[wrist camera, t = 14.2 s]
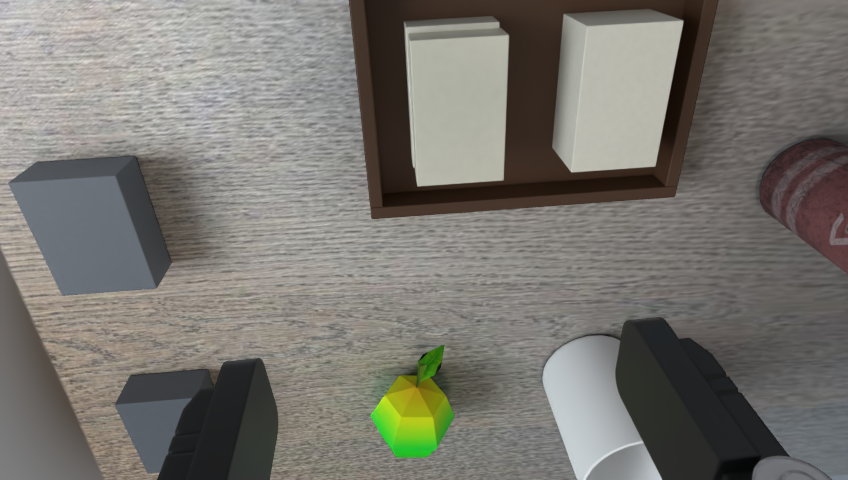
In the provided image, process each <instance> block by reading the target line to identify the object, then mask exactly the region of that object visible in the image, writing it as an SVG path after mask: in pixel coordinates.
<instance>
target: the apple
mask: <svg viewBox="0 0 848 480" xmlns="http://www.w3.org/2000/svg"><path fill="white" fill-rule="evenodd" d="M444 345H445V344H444ZM444 345H442V346H440V347H438V348H436V349H434V350H432V351H429V352H427V353H425V354H423V355H422V357H421V358H420V360H419V361H418V373H417V376H409V375H399V376H398V378H397V379H396V381H395V382H394V383H393V385H392V386H391V387H390V389H389V390H388V392H387V393H386V394H385V396H384V397H383V399H382V400H381V401H380V403H379V404H378V406H377V407H376V409H375V410H374V412H373V413H372V415H371V417H372V419H373V421H374V423H375V425H376V426H377V428H378V430H379V432H380V434H381V435H382V437H383V438H384V440H385V441H386V443H387V444H388V445H389V447H390V448H391V450H392V451H393V453H394V454H395V456H396V457H428V456H429V455H430V454H431V453H432V452H433V451H434V450H435V449H436V448H437V447H438V445H439V443H440V441H441V440H442V438H443V436H444V434H445V432H446V431H447V429H448V427H449V425H450V423H451V422H452V420H453V418H454V414H453V411H452V409H451V407H450V404H449V402H448V400H447V397H446V395H445V394H444V393H443V392H442V391H441V390H440V388H439V387H438V386H437V385H436V384H435V383H434V381H433V380H432V379H431V378H430V377H432V376H434V375H435V374H436V373H437V372H438V370H439V369H440V368H441V362H442V357H443V351H444Z"/></svg>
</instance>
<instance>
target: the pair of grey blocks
mask: <svg viewBox="0 0 848 480" xmlns="http://www.w3.org/2000/svg"><path fill="white" fill-rule="evenodd" d="M8 184H9V186H10V188H11V190H12V192H13V194H14V196H15V198H16V200H17V203H18V205H19V207H20V209H21V211H22V213H23V215H24V217H25V219H26V221H27V223H28V225H29V227H30V230H31V232H32V234H33V236H34V238H35V240H36V242H37V244H38V246H39V248H40V250H41V252H42V255H43V257H44V259H45V261H46V263H47V265H48V267H49V269H50V271H51V273H52V275H53V277H54V279H55V282H56V284H57V286H58V288H59V290H60V292H61V294H62V295H63V296H65V295H78V294H91V293H104V292H117V291H129V290H142V289H155V288H157V287H158V285H159V284H160V282H161V280H162V279H163V277H164V275H165V273H166V272H167V270H168V268H169V267H170V265H171V260H170V257H169V254H168V251H167V249H166V246H165V243H164V240H163V237H162V234H161V231H160V228H159V225H158V222H157V219H156V216H155V213H154V210H153V207H152V204H151V201H150V198H149V195H148V192H147V189H146V186H145V183H144V181H143V178H142V175H141V172H140V169H139V166H138V163H137V160H136V157H135V156H126V157H111V158H96V159H81V160H66V161H51V162H36V163H35V164H33V165H32V166H31V167H29V168H28V169H27V170H25V171H24V172H22V173H21V174H20V175H18V176H17V177H16V178H14V179H13V180H11V181H10V182H9V183H8ZM205 388H214V387H213V384H212V381H211V378H210V375H209V372H208V369H203V370H191V371H179V372H168V373H156V374H144V375H132V376H130V377H129V379H128V381H127V383H126V385H125V386H124V388H123V390H122V392H121V394H120V396H119V398H118V400H117V402H116V403H115V407H116V409H117V411H118V413H119V415H120V417H121V419H122V421H123V423H124V425H125V427H126V429H127V432H128V434H129V436H130V438H131V440H132V442H133V444H134V446H135V448H136V450H137V452H138V454H139V456H140V459H141V461H142V463H143V465H144V467H145V469H146V471H147V473H157V472H160V471H161V468H162V465H163V463H164V460H165V457H166V455H168V449H169V446H170V444H171V441H172V438H173V436H175V430H176V427H177V425H178V422H179V419H180V416H181V414H182V411H183V409H184V408H185V407H186V405H187V404H188V403H189V402H190V401H191V399H192V398H193V397H194V396H195V395H196V393H197V392H198V391H199V390H200V389H205Z"/></svg>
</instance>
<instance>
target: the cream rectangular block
mask: <svg viewBox="0 0 848 480" xmlns="http://www.w3.org/2000/svg"><path fill="white" fill-rule="evenodd" d="M683 22H684V21H683V20H681V19H678V18H675V17H672V16H669V15H666V14H663V13H660V12H657V11H654V10H651V9H638V10H620V11H602V12H585V13H567V14H564V15H563V26H562V38H561V49H560V61H559V72H558V84H557V96H556V107H555V119H554V130H553V142H552V148H553V149H554V150H555V152H556V153H557V154H558V156H559V157H560V158H561V160H562V161H563V162H564V164H565V165H566V166H567V167H568V169H569V170H570V171H571V172H585V171H599V170H613V169H628V168H642V167H655V166H656V161H657V156H658V151H659V146H660V140H661V135H662V130H663V125H664V120H665V115H666V110H667V104H668V99H669V94H670V89H671V84H672V79H673V74H674V68H675V63H676V58H677V53H678V48H679V43H680V37H681V32H682V27H683Z"/></svg>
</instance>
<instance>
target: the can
mask: <svg viewBox="0 0 848 480" xmlns="http://www.w3.org/2000/svg"><path fill="white" fill-rule="evenodd" d="M760 202H761V204H762V206H763V209H764V211H765V212H767V213H768V214H769V215H771V216H772V217H773V218H775V219H776V220H777V221H779V222H780V223H781V224H782V225H784V226H785V227H786V228H788V229H789V230H790V231H792V232H793V233H794V234H796V235H797V236H798V237H800V238H801V239H802V240H804V241H805V242H806V243H808V244H809V245H810V246H811V247H813V248H814V249H815V250H817V251H818V252H819V253H821V254H822V255H823V256H825V257H826V258H827V259H829V260H830V261H831V262H833V263H834V264H835V265H836V266H838V267H839V268H840V269H842V270H843V271H844V272H846V273H847V274H848V147H846V146H844V145H842V144H840V143H838V142H835V141H831V140H828V139H818V140H810V141H805V142H802V143H800V144H797V145H794V146H792V147H790V148H788V149H787V150H785V151H784V152H782V153H780V154H779V155H778V156H777V157H776V158H775V159H774V160H773V161H772V162H771V163H770V165H769V166H768V168H767V169H766V171H765V172H764V174H763V176H762V180H761V183H760Z"/></svg>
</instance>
